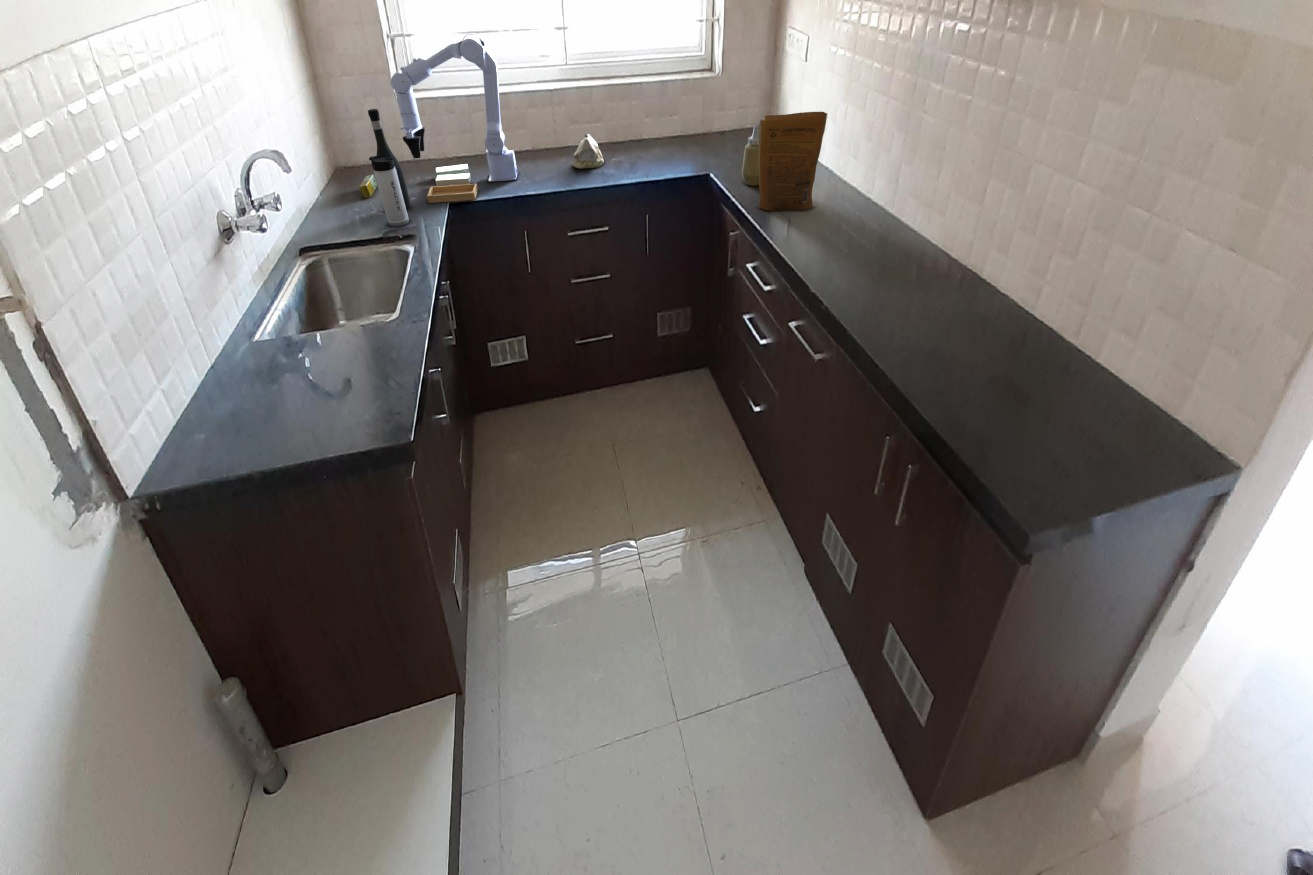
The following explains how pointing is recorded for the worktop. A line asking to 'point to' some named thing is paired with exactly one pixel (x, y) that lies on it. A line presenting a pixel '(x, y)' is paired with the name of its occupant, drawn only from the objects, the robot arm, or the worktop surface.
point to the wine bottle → (388, 153)
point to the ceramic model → (588, 154)
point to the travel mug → (390, 190)
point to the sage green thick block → (452, 170)
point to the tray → (452, 193)
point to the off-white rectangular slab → (453, 179)
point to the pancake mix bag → (789, 159)
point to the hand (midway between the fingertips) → (419, 154)
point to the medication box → (368, 186)
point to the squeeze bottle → (751, 159)
